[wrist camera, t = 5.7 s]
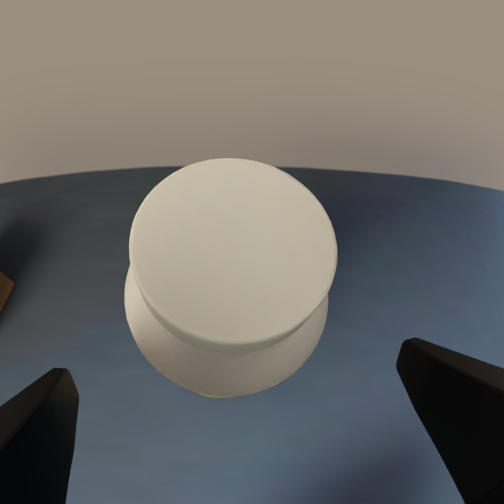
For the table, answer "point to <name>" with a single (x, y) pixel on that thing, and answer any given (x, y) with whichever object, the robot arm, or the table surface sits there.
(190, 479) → the table surface
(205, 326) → the supplement bottle
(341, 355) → the table surface
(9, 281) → the light brown cube
